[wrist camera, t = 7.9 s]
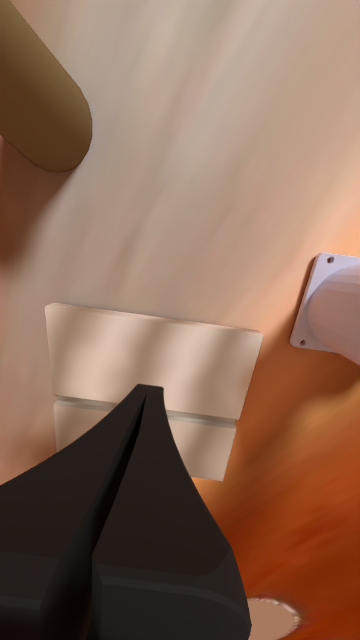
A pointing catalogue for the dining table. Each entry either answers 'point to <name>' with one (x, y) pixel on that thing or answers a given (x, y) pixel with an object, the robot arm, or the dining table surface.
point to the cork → (39, 99)
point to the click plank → (150, 358)
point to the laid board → (187, 429)
